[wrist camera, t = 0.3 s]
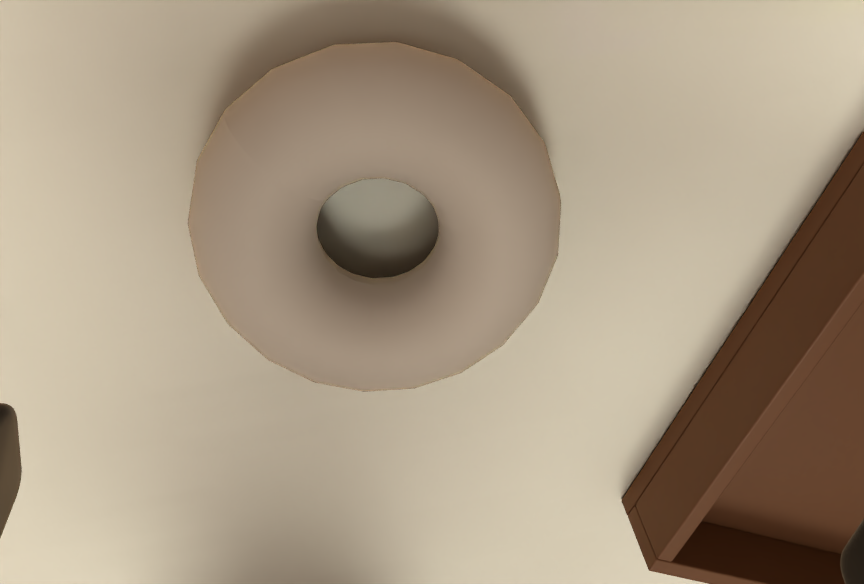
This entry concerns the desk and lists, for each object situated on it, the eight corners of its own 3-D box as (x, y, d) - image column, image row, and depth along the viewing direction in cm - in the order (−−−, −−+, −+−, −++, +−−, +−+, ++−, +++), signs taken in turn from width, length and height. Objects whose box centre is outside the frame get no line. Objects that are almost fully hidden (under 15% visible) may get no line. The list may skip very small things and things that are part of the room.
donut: (456, 384, 25) (614, 121, 21) (466, 455, 22) (651, 167, 18) (161, 282, 23) (271, -43, 18) (128, 348, 20) (249, -21, 15)
